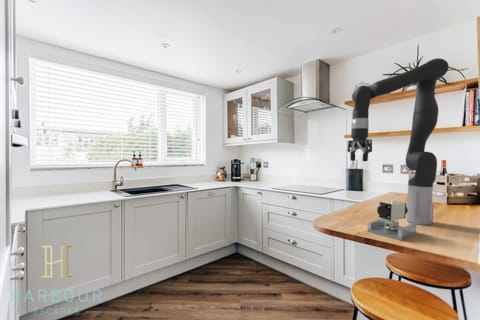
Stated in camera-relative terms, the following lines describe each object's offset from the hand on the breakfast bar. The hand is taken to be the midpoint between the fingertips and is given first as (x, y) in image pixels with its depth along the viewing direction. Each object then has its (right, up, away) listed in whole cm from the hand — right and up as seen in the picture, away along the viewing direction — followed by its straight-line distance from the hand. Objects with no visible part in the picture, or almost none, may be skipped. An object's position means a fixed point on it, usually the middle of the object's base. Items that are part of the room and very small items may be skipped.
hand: (358, 161), depth 117 cm
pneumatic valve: (+3, -28, -21) cm, 35 cm away
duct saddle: (+3, -29, -21) cm, 36 cm away
